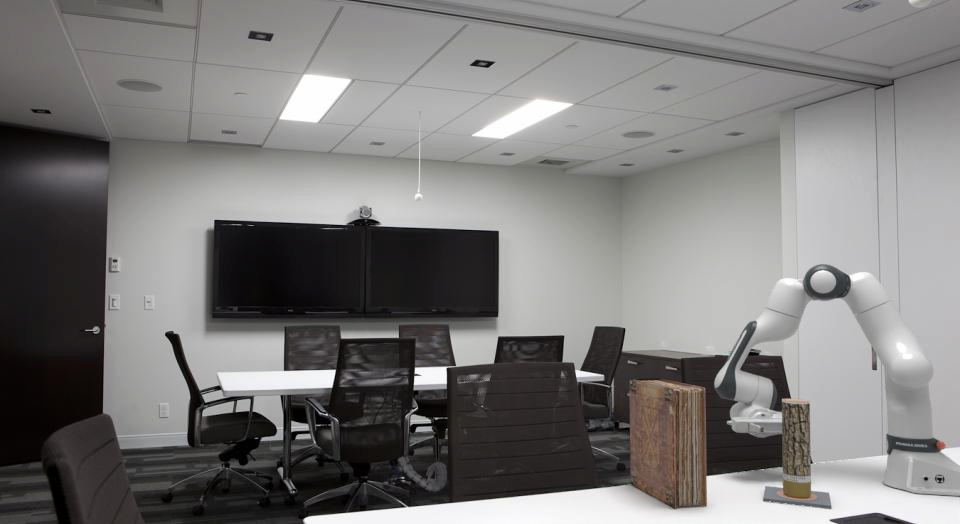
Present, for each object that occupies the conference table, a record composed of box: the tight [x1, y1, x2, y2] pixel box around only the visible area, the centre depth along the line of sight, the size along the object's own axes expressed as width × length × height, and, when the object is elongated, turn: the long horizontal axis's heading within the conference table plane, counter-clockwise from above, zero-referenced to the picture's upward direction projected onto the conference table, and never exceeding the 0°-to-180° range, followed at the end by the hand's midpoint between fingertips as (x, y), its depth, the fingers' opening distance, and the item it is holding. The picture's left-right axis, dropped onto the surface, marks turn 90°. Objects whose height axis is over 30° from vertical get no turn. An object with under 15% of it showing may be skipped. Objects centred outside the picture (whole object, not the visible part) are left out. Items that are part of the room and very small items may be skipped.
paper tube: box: [781, 398, 812, 498], centre depth 186 cm, size 7×7×25 cm
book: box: [628, 377, 708, 510], centre depth 189 cm, size 25×9×30 cm, turn 13°
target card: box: [762, 485, 832, 510], centre depth 186 cm, size 16×14×1 cm
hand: (777, 430), depth 198 cm, fingers open, 8 cm apart
